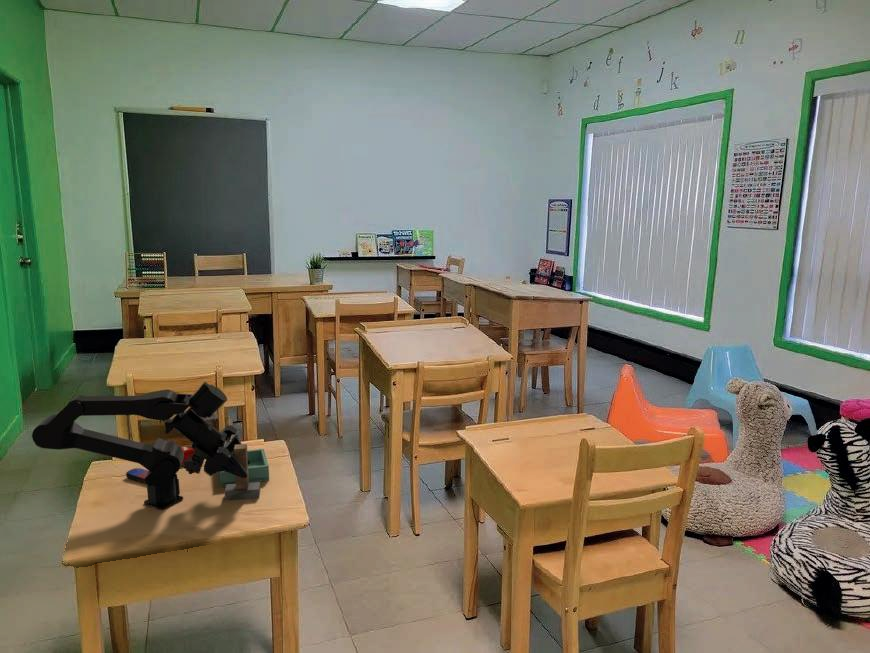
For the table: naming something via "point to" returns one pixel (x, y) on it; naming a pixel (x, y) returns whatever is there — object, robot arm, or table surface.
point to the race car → (187, 453)
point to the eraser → (137, 475)
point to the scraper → (242, 479)
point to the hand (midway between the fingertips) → (247, 470)
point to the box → (250, 469)
